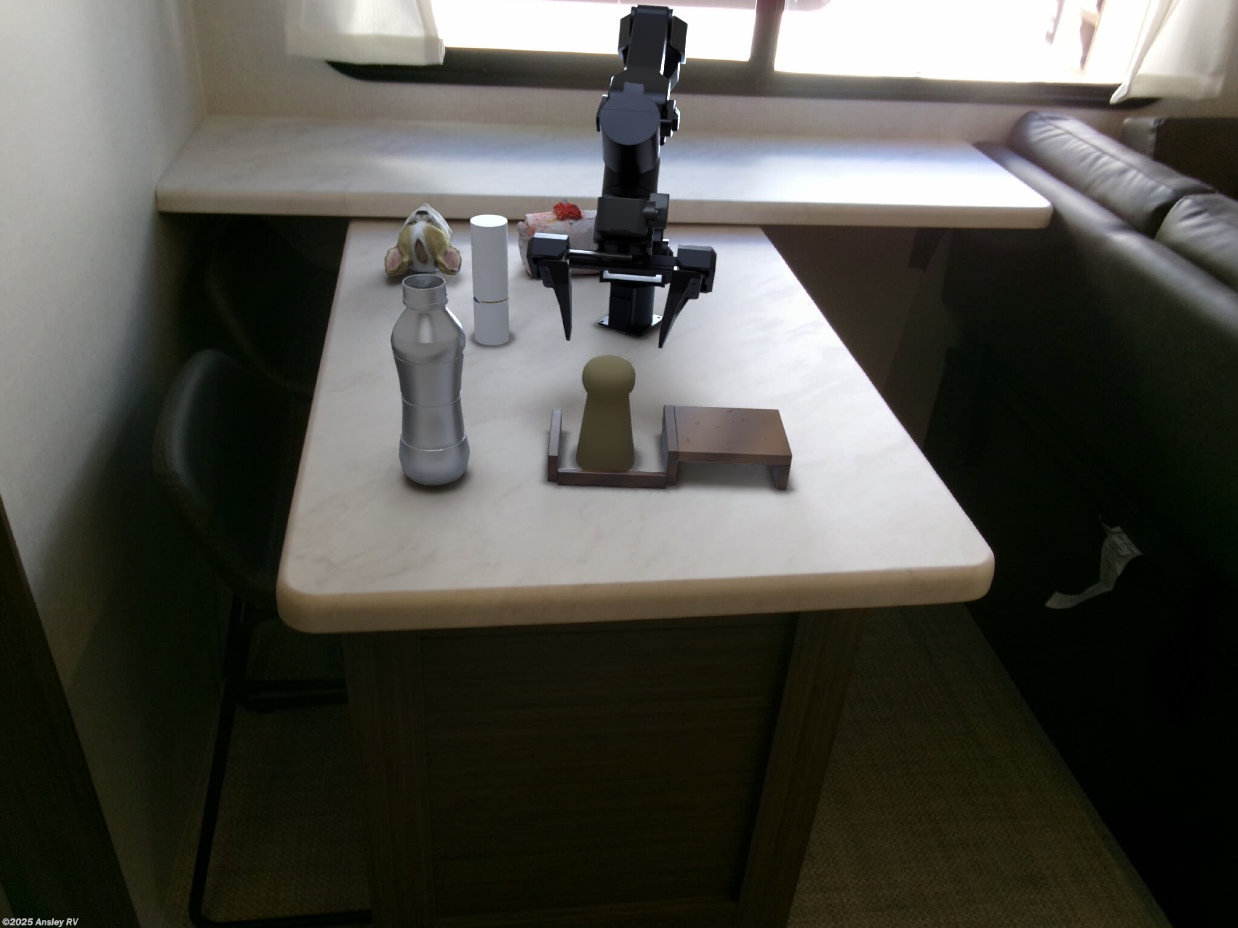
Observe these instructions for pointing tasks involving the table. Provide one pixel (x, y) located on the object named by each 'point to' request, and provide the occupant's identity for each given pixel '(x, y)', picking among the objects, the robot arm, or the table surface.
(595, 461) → the olive green pawn
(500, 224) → the tube
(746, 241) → the table surface
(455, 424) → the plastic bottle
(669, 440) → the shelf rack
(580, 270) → the food item
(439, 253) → the ceramic sculpture
